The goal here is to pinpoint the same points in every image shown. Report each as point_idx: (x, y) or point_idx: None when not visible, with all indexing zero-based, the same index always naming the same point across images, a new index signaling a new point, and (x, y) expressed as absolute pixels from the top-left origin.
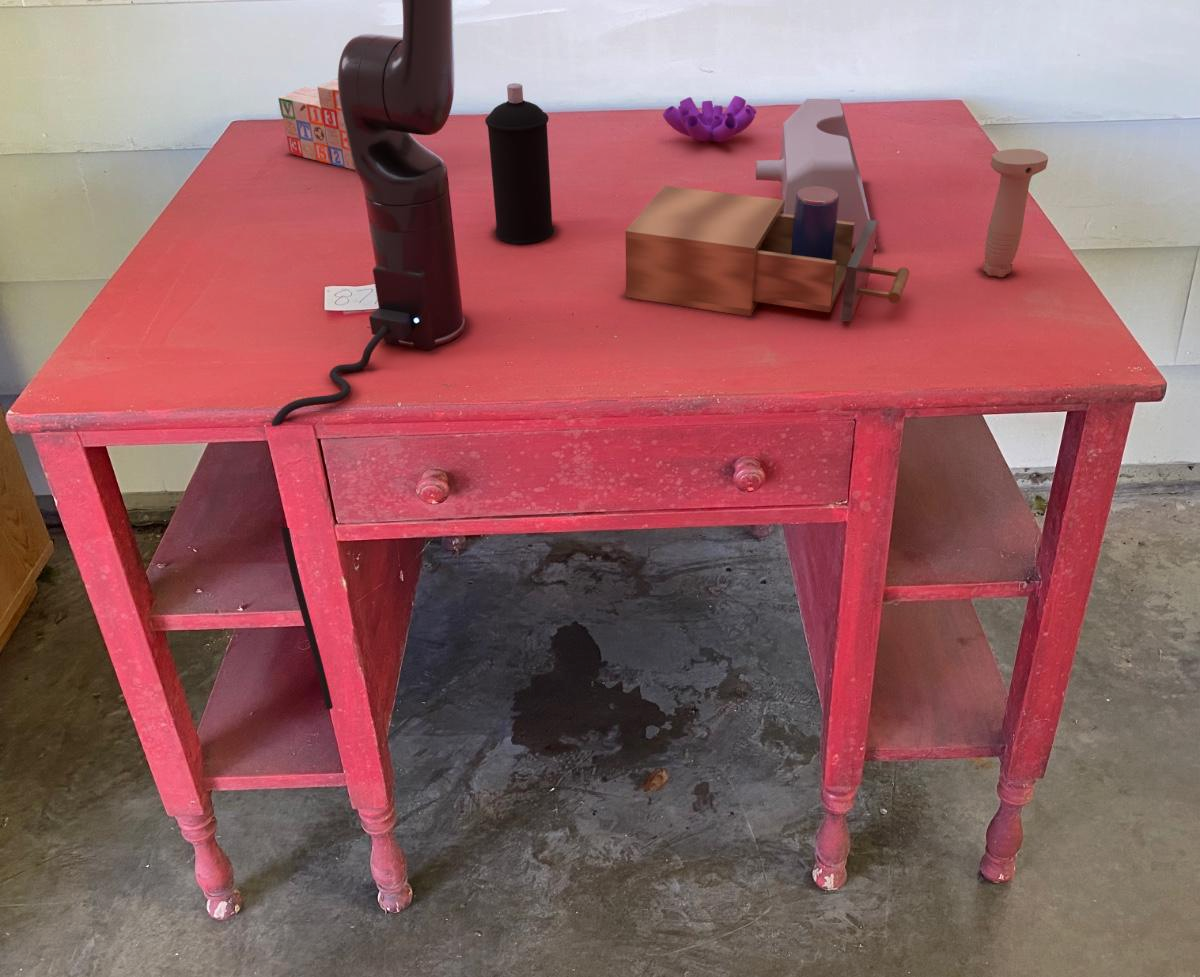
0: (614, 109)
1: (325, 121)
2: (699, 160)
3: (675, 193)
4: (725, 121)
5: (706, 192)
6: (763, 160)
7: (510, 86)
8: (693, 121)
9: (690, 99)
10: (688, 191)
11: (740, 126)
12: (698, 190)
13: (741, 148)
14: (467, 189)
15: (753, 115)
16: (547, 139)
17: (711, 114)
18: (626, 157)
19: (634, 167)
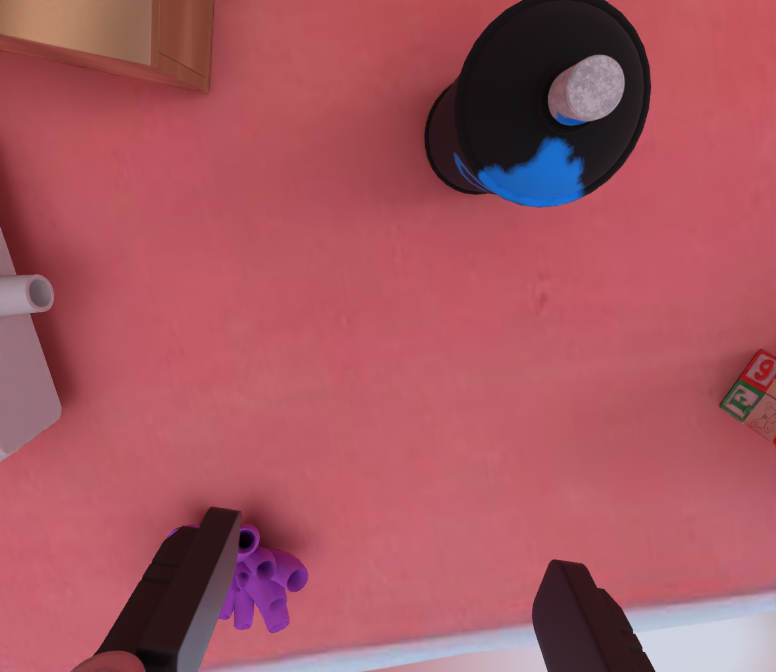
0: (415, 646)
1: None
2: (239, 476)
3: (108, 10)
4: None
5: (38, 27)
6: (13, 302)
7: (611, 73)
8: (246, 548)
9: (268, 624)
10: (81, 28)
11: None
12: (61, 39)
13: None
14: (611, 319)
15: None
16: (452, 126)
17: (235, 598)
18: (360, 476)
19: (339, 439)
